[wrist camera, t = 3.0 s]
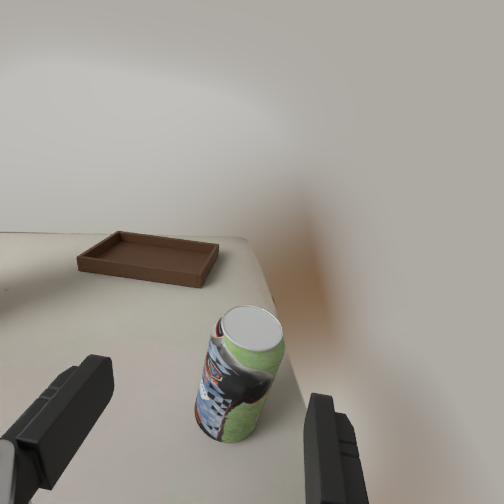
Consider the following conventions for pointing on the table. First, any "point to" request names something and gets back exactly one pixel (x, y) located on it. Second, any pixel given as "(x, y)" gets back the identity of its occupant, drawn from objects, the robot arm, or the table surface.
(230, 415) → the beverage can
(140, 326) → the table surface
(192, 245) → the serving tray
